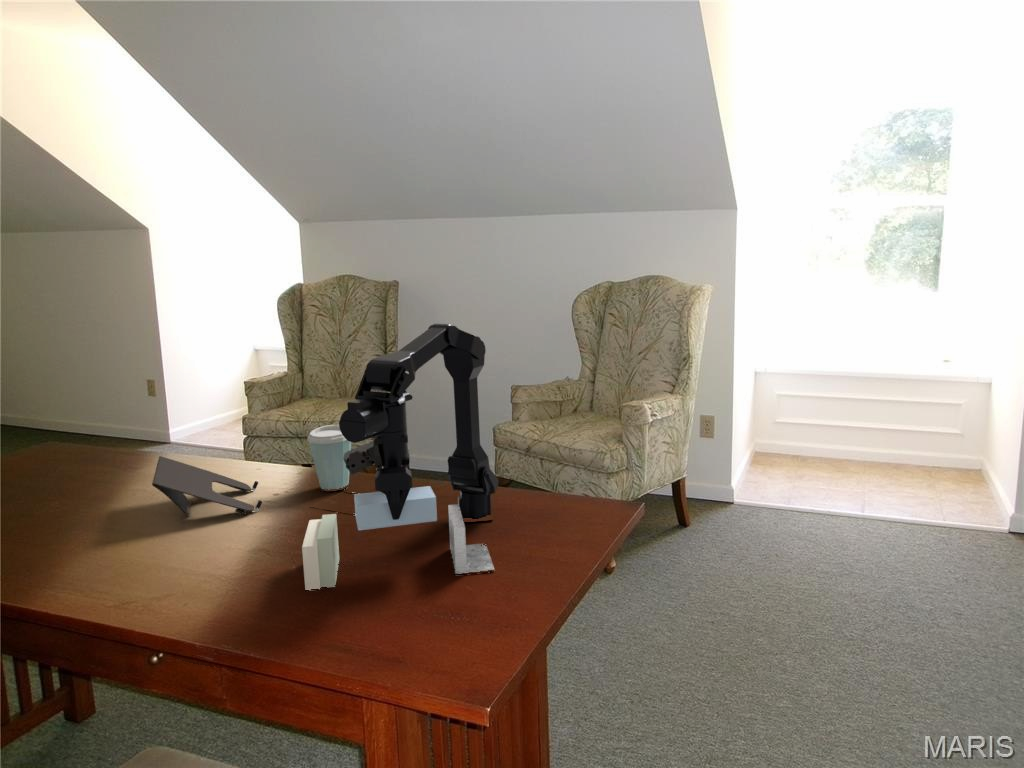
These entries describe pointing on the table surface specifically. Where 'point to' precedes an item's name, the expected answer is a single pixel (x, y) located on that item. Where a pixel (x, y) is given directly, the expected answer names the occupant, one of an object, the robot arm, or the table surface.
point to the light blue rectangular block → (378, 515)
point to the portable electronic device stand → (196, 485)
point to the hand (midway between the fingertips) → (395, 512)
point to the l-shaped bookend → (465, 546)
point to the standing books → (321, 553)
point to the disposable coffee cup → (330, 456)
